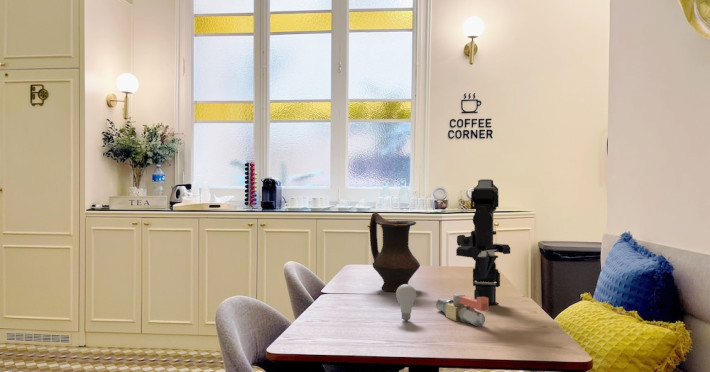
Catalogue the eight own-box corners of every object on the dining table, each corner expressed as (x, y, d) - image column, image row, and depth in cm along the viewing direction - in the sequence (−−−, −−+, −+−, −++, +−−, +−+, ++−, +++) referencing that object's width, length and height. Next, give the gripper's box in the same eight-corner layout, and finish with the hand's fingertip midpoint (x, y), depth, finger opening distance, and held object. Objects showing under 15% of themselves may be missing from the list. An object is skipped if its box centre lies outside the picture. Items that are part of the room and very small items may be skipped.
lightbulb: (418, 319, 168) (418, 283, 168) (413, 324, 162) (413, 286, 162) (398, 318, 170) (398, 282, 170) (393, 322, 164) (393, 285, 164)
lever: (489, 312, 159) (489, 297, 159) (479, 313, 158) (479, 298, 158) (460, 302, 173) (461, 289, 173) (451, 303, 171) (451, 289, 171)
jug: (428, 288, 221) (428, 213, 221) (406, 296, 205) (407, 214, 205) (381, 283, 232) (382, 211, 232) (358, 290, 216) (358, 213, 216)
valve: (449, 311, 182) (449, 295, 182) (488, 327, 161) (488, 309, 161) (433, 313, 180) (433, 297, 180) (470, 329, 159) (470, 311, 159)
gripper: (484, 225, 184) (484, 272, 184) (443, 227, 173) (443, 277, 173) (511, 227, 175) (511, 276, 175) (470, 229, 164) (470, 282, 164)
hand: (483, 278), depth 172 cm, fingers closed
